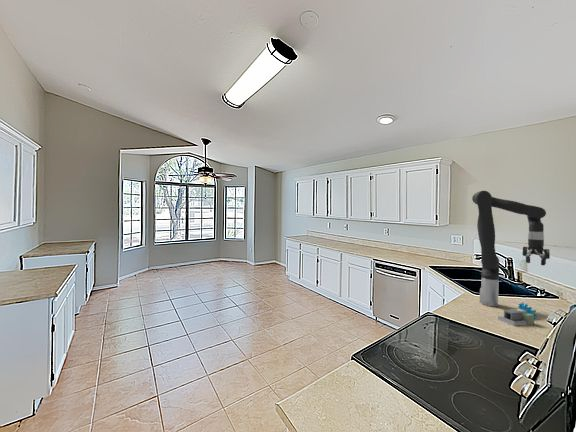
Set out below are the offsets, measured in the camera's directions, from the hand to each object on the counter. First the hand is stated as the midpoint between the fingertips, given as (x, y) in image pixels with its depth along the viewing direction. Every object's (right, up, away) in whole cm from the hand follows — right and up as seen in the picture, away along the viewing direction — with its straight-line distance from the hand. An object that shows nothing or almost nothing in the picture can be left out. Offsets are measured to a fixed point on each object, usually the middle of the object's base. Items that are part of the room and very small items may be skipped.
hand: (535, 264), depth 179 cm
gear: (-19, -29, -16) cm, 38 cm away
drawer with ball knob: (-31, -28, -23) cm, 48 cm away
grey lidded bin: (-33, -27, -23) cm, 49 cm away
